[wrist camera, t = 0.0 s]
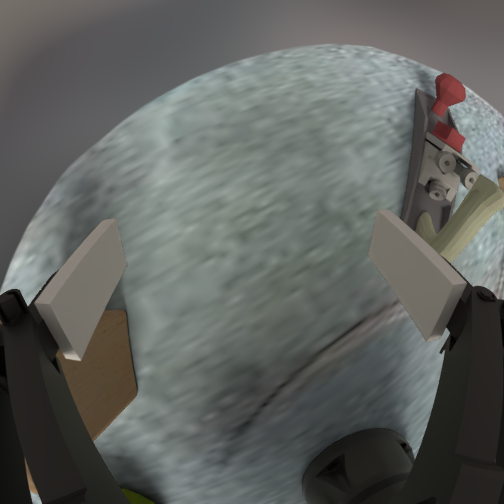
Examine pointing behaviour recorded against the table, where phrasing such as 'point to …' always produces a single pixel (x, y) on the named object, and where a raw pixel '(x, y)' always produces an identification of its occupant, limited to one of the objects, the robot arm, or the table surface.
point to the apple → (136, 498)
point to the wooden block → (100, 376)
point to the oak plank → (501, 183)
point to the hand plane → (445, 176)
